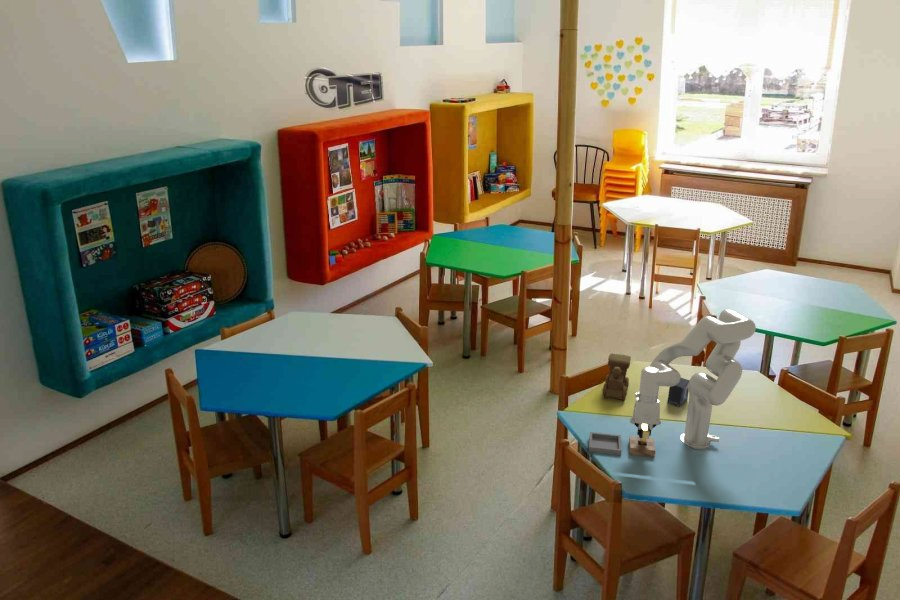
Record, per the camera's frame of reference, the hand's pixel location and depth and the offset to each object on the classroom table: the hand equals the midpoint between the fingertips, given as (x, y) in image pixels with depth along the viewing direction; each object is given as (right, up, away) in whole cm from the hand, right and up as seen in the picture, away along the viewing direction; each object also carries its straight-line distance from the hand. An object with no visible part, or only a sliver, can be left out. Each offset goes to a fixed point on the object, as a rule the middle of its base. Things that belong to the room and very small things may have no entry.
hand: (643, 436), depth 322 cm
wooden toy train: (0, +11, +54) cm, 55 cm away
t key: (0, -4, +2) cm, 5 cm away
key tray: (-15, -5, +5) cm, 17 cm away
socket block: (0, -7, +2) cm, 7 cm away
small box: (+28, +8, +47) cm, 55 cm away
